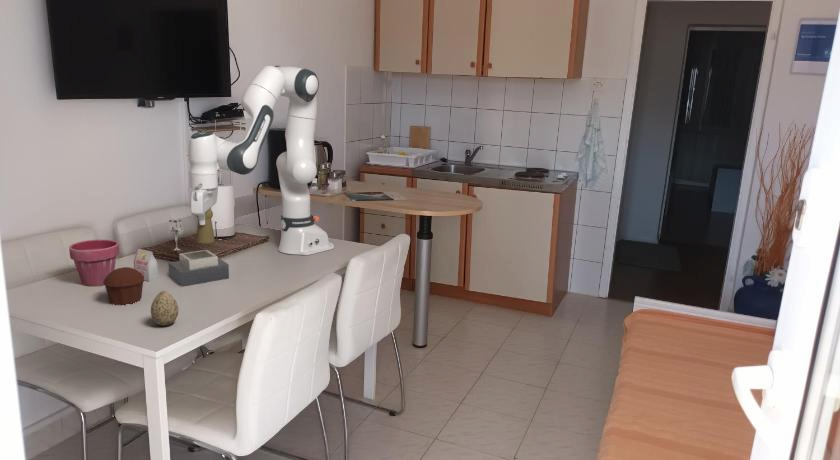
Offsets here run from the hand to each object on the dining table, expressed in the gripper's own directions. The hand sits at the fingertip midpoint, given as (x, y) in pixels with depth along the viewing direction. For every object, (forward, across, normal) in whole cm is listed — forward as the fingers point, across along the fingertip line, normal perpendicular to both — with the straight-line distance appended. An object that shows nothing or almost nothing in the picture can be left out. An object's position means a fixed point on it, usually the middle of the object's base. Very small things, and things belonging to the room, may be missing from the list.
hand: (205, 222), depth 207 cm
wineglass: (+20, +32, +19) cm, 42 cm away
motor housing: (+20, +1, +3) cm, 20 cm away
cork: (+6, 0, 0) cm, 7 cm away
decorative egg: (+20, -40, +2) cm, 45 cm away
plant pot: (+20, -5, +34) cm, 40 cm away
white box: (+20, -1, +20) cm, 28 cm away
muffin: (+20, -21, +19) cm, 35 cm away
